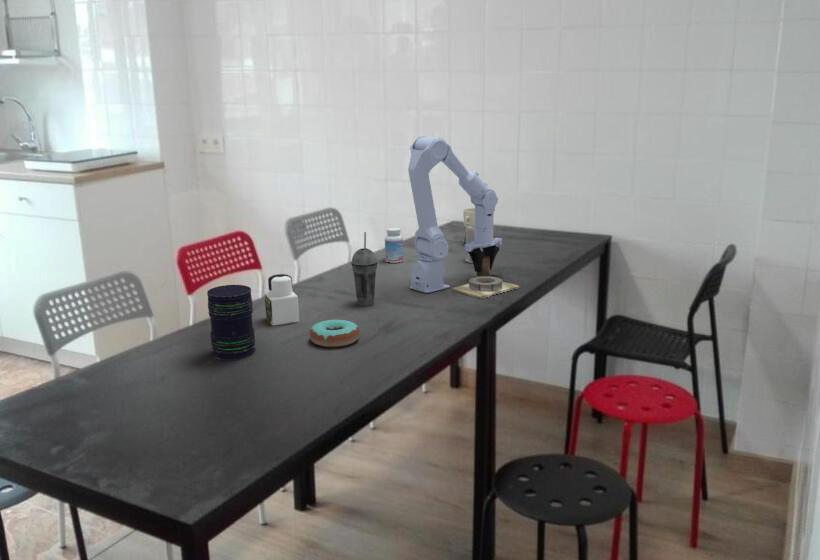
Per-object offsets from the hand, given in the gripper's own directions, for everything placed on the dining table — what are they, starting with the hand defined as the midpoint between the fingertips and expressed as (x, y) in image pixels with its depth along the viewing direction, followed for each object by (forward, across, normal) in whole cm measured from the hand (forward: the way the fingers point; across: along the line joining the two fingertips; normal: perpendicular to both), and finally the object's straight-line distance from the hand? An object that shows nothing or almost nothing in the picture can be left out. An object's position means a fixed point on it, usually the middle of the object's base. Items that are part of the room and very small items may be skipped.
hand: (483, 270), depth 235 cm
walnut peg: (+2, 0, 0) cm, 2 cm away
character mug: (+2, +32, +36) cm, 48 cm away
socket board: (+2, -9, -10) cm, 13 cm away
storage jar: (+3, -89, -6) cm, 89 cm away
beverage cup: (+3, -43, +4) cm, 43 cm away
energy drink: (+2, +13, +17) cm, 22 cm away
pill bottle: (+3, -6, +36) cm, 37 cm away
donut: (+3, -67, -15) cm, 69 cm away
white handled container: (+3, -68, +7) cm, 68 cm away
